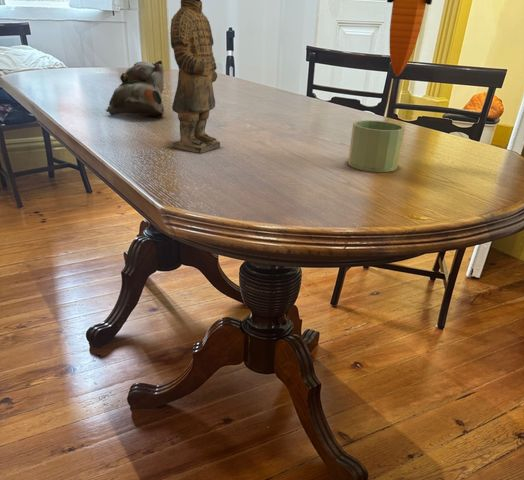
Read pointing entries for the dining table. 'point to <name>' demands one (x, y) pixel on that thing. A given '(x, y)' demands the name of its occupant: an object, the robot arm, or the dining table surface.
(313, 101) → the dining table surface
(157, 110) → the dark stacked lumps
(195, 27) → the statue
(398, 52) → the carrot
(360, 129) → the holder
